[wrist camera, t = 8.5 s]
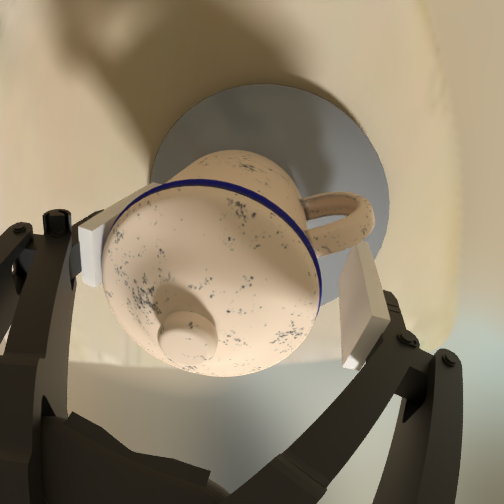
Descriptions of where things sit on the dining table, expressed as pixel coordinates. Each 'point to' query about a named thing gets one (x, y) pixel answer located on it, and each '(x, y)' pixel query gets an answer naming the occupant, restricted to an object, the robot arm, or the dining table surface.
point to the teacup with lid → (225, 263)
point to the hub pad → (286, 152)
